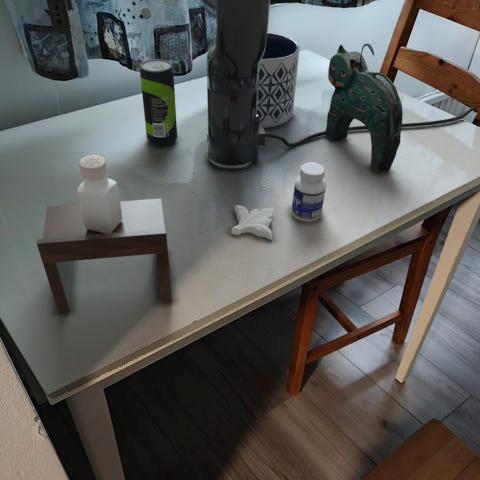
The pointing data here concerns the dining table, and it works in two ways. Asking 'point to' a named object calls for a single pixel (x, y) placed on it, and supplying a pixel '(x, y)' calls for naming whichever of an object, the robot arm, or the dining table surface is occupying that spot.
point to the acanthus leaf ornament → (253, 221)
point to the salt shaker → (98, 196)
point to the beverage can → (159, 101)
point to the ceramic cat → (364, 106)
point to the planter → (277, 80)
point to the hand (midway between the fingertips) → (63, 20)
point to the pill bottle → (309, 192)
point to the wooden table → (102, 244)
